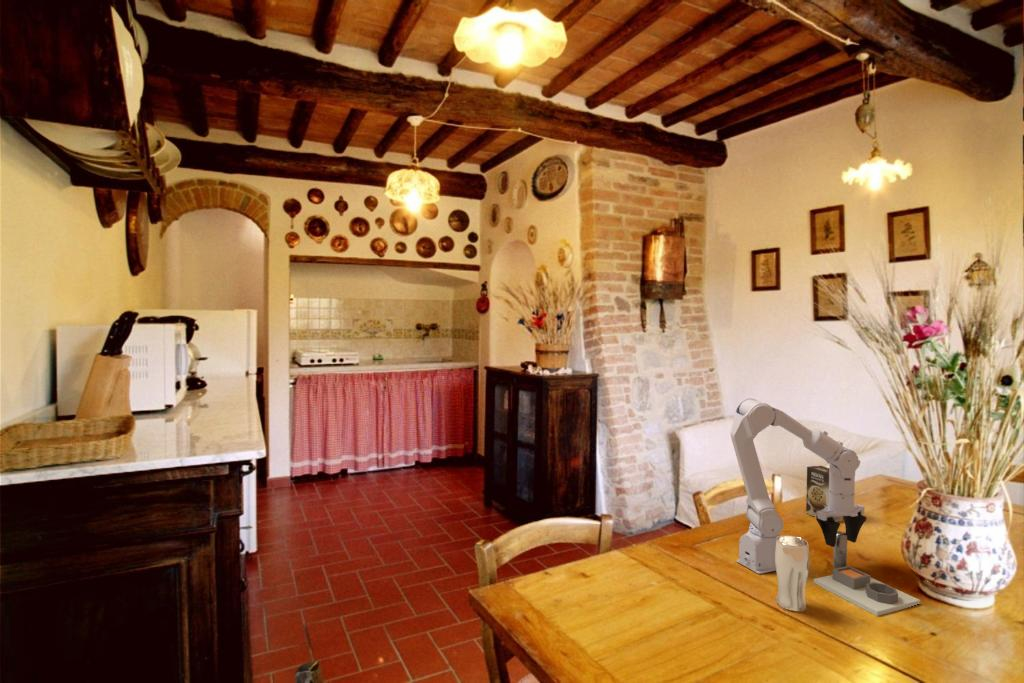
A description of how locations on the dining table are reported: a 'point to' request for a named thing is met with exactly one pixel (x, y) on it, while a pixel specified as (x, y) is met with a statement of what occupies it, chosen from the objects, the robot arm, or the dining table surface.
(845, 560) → the metal cylinder
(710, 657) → the dining table surface
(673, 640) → the dining table surface
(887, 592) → the panel
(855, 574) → the button
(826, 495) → the coffee box
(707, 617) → the dining table surface
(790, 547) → the beer glass
